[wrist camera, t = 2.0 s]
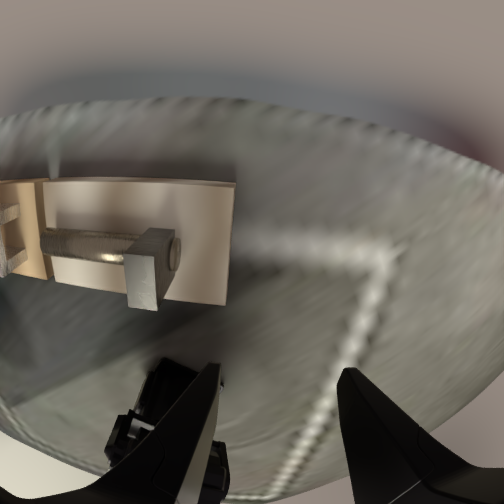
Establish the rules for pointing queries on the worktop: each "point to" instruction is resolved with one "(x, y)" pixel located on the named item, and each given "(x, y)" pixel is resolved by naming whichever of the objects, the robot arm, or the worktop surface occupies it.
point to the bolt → (123, 257)
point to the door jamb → (126, 227)
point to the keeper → (9, 257)
